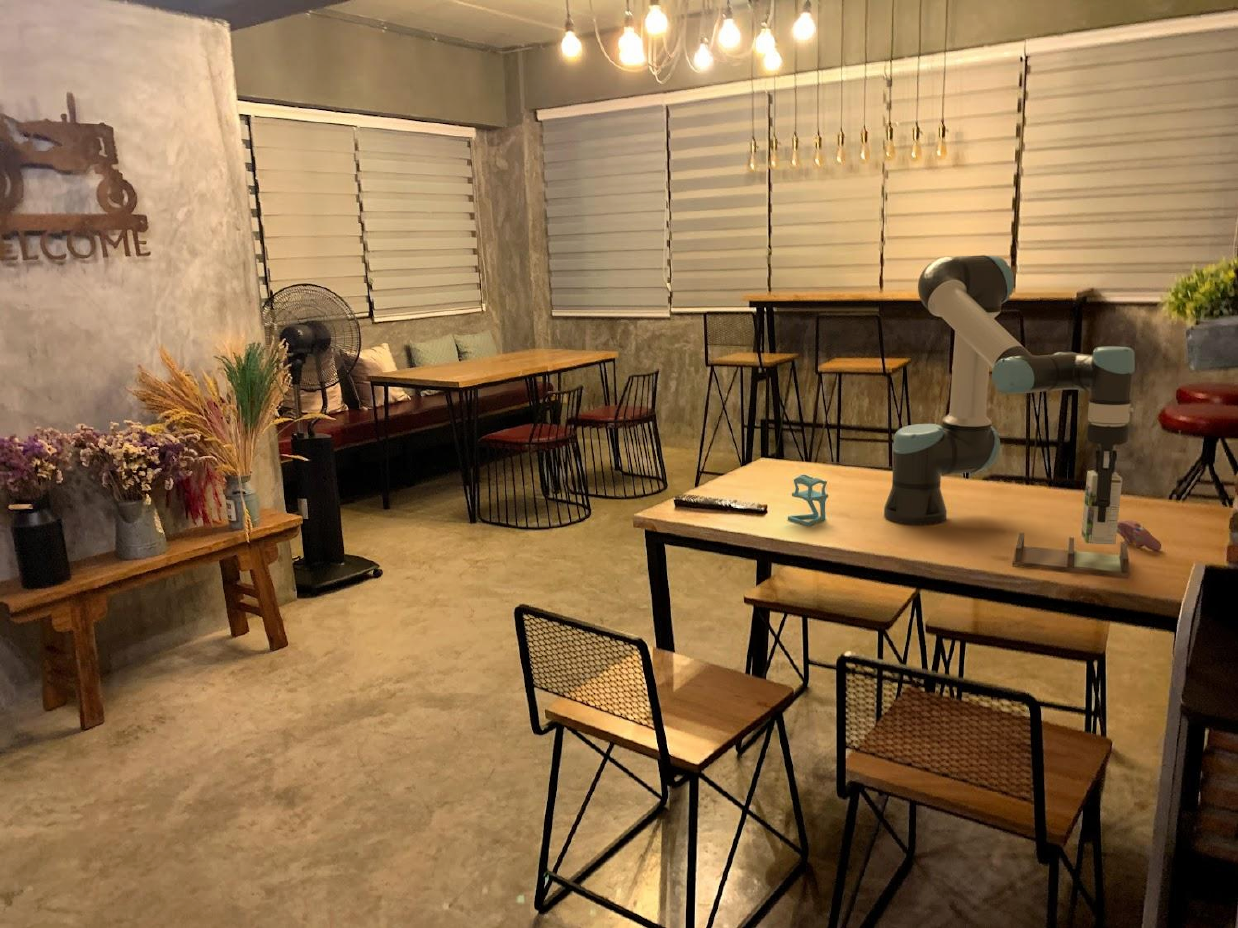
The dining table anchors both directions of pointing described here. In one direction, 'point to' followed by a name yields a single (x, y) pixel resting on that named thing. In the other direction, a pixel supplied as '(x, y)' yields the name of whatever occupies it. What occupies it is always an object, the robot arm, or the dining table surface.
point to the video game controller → (1137, 535)
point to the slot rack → (1072, 560)
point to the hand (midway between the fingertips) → (1099, 531)
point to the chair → (810, 499)
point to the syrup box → (1089, 509)
